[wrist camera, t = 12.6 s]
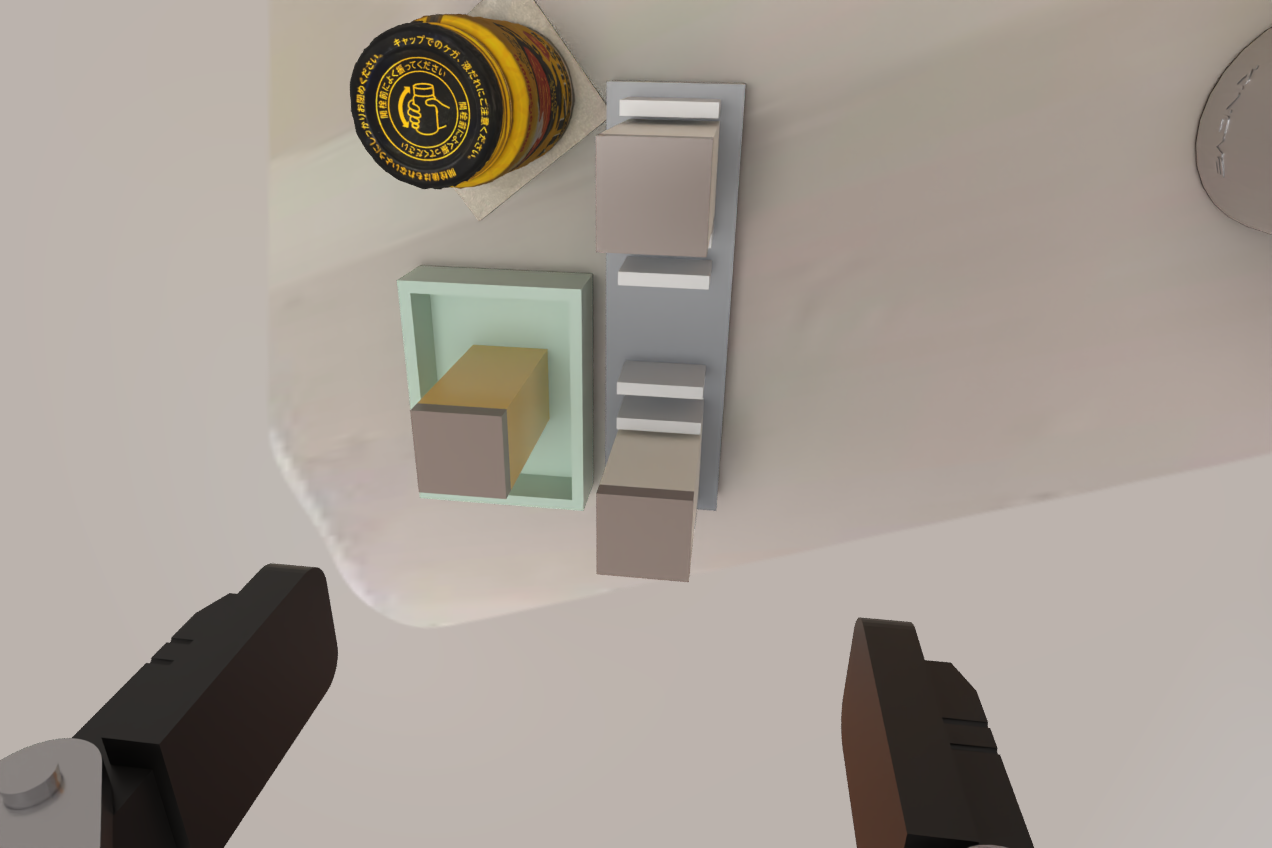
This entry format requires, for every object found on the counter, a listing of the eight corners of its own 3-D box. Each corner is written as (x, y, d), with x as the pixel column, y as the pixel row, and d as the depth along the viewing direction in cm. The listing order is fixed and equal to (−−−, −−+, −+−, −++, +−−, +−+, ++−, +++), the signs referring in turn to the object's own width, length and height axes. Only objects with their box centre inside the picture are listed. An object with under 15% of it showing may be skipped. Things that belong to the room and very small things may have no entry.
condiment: (613, 114, 38) (560, 135, 27) (480, 220, 40) (382, 279, 29) (515, -29, 36) (414, -68, 25) (382, 93, 38) (239, 106, 28)
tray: (592, 273, 41) (581, 289, 38) (593, 483, 46) (583, 510, 43) (420, 265, 42) (396, 280, 39) (439, 471, 47) (419, 497, 44)
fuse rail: (745, 83, 36) (745, 91, 26) (717, 492, 45) (710, 612, 35) (613, 80, 37) (566, 87, 27) (610, 484, 46) (574, 600, 36)
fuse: (547, 348, 42) (501, 416, 34) (549, 419, 44) (506, 499, 36) (472, 344, 42) (410, 410, 34) (477, 414, 44) (419, 492, 36)
